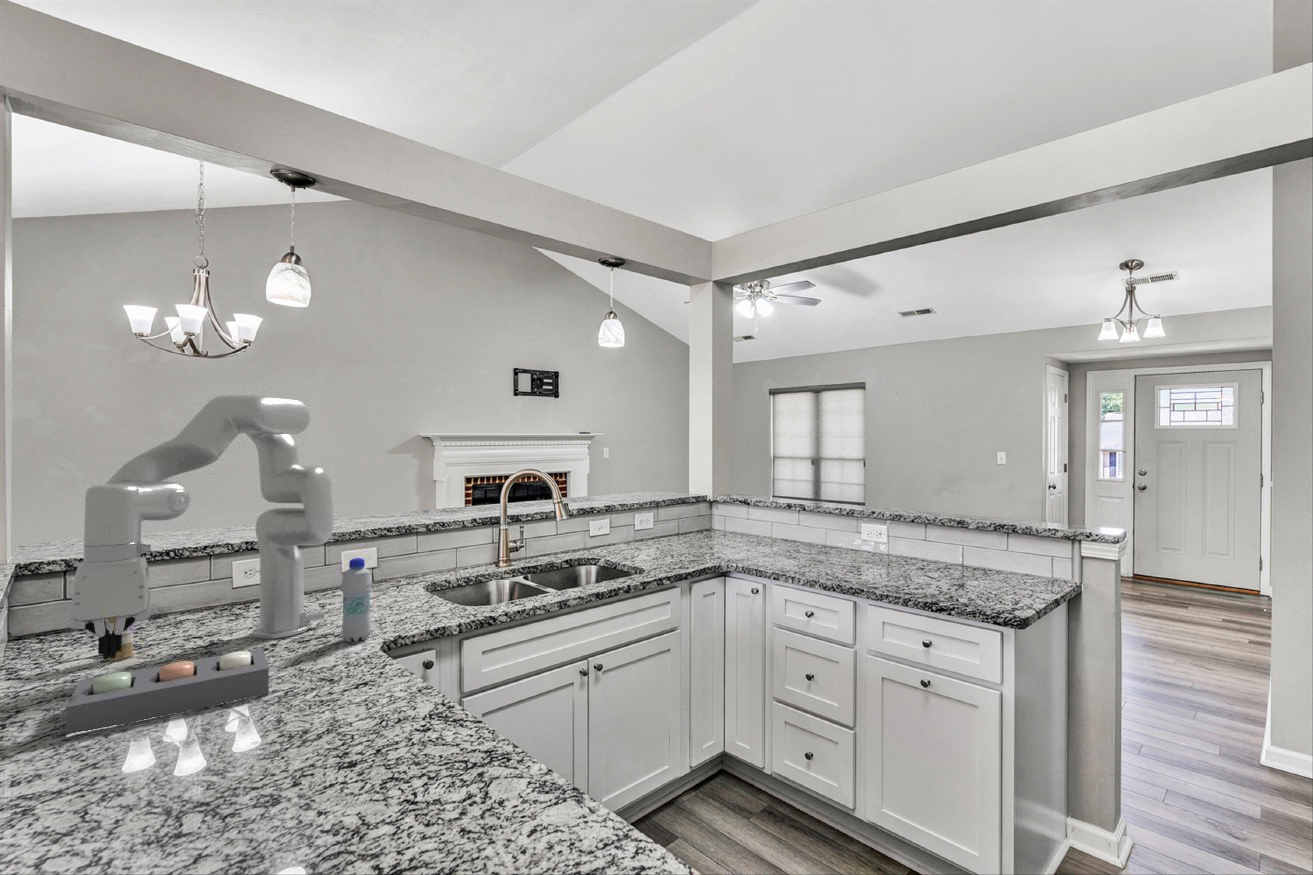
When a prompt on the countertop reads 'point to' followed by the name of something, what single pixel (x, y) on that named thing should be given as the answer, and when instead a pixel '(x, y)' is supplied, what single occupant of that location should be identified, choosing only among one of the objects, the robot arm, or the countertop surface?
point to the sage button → (112, 682)
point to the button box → (166, 693)
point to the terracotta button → (176, 670)
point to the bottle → (356, 601)
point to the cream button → (235, 660)
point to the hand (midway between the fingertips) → (110, 656)
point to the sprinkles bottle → (126, 640)
